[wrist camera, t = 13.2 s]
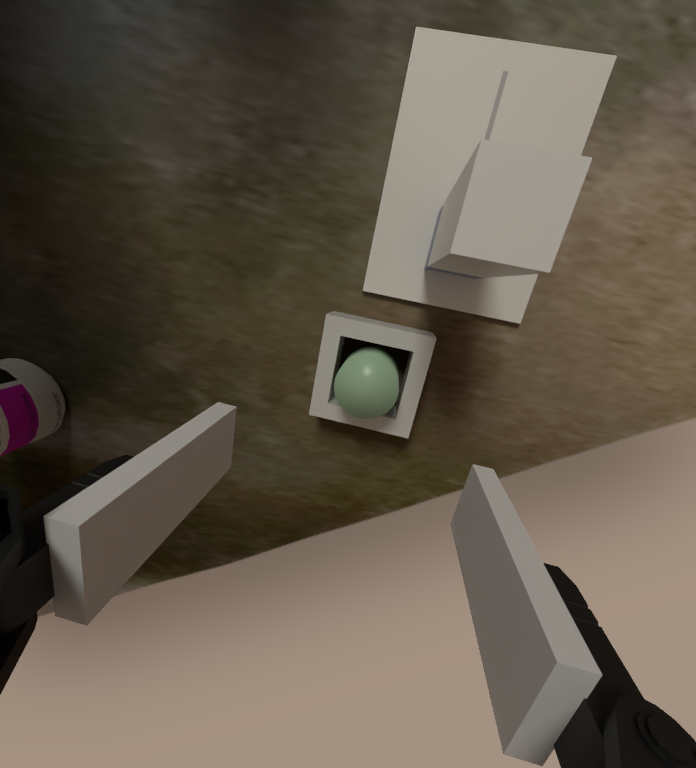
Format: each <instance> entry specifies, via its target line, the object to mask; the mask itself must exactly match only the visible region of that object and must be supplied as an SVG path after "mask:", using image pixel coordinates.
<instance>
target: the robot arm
mask: <svg viewBox="0 0 696 768" xmlns="http://www.w3.org/2000/svg"><path fill="white" fill-rule="evenodd" d="M235 418H236V406H231V405H227V404H223V403H219V402H218V403H216V404H215V405H213V406H211V407H210V408H208V409H207V410H205V411H204V412H202V413H201V414H199V415H198V416H196V417H195V418H193V419H192V420H190V421H188V422H187V423H185V424H184V425H182V426H181V427H179V428H178V429H176V430H175V431H173V432H172V433H170V434H169V435H167V436H166V437H164V438H162V439H161V440H159V441H158V442H156V443H155V444H153V445H152V446H150V447H149V448H147V449H146V450H144V451H143V452H141V453H140V454H138V455H136V456H135V457H133V456H129V455H124V456H121V457H118V458H115V459H112V460H109V461H106V462H104V463H102V464H101V465H99V466H97V467H96V468H94V469H92V470H91V471H89V472H88V474H87V475H85V474H84V475H83V476H81V477H79V478H78V479H76V480H74V481H73V483H72V484H71V483H69V484H68V485H66V486H64V487H63V488H61V489H59V490H58V491H56V492H54V493H53V494H51V495H49V496H48V497H46V498H45V499H43V500H41V501H40V502H38V503H36V504H35V505H33V506H31V507H30V508H28V509H26V510H25V511H23V512H22V509H21V502H20V496H19V493H18V491H17V489H15V488H13V487H10V486H8V485H0V694H1V692H2V690H3V689H4V687H5V685H6V683H7V681H8V679H9V677H10V675H11V673H12V671H13V669H14V667H15V666H16V663H17V662H18V659H19V658H20V656H21V654H22V652H23V650H24V648H25V646H26V645H27V643H28V641H29V639H30V637H31V635H32V633H33V631H34V629H35V626H36V622H37V611H38V610H39V609H40V608H41V607H42V606H43V605H45V604H46V603H47V602H48V601H49V600H50V599H51V598H52V597H53V600H54V608H55V616H58V617H61V618H64V619H68V620H71V621H74V622H77V623H80V624H84V625H88V623H89V622H90V621H91V620H92V619H93V618H94V617H95V616H96V615H97V614H98V613H99V611H100V610H101V609H102V608H103V607H104V606H105V605H106V604H107V603H108V601H109V600H110V599H111V598H112V597H113V596H114V595H115V594H116V593H117V592H118V591H119V589H120V588H121V587H122V586H123V585H124V584H125V583H126V582H127V581H128V580H129V578H130V577H131V576H132V575H133V574H134V573H135V572H136V571H137V570H138V569H139V568H140V566H141V565H142V564H143V563H144V562H145V561H146V560H147V559H148V558H149V557H150V555H151V554H152V553H153V552H154V551H155V550H156V549H157V548H158V547H159V546H160V544H161V543H162V542H163V541H164V540H165V539H166V538H167V537H168V536H169V535H170V533H171V532H172V531H173V530H174V529H175V528H176V527H177V526H178V525H179V524H180V523H181V521H182V520H183V519H184V518H185V517H186V516H187V515H188V514H189V513H190V512H191V510H192V509H193V508H194V507H195V506H196V505H197V504H198V503H199V502H200V501H201V499H202V498H203V497H204V496H205V495H206V494H207V493H208V492H209V491H210V490H211V488H212V487H213V486H214V485H215V484H216V483H217V482H218V481H219V480H220V479H221V478H222V476H223V475H224V474H225V473H226V472H227V471H228V470H229V469H230V468H231V460H232V450H233V439H234V429H235ZM451 527H452V532H453V536H454V540H455V545H456V549H457V553H458V558H459V562H460V566H461V571H462V575H463V579H464V584H465V588H466V593H467V597H468V601H469V606H470V610H471V615H472V619H473V623H474V628H475V632H476V636H477V640H478V645H479V649H480V654H481V658H482V662H483V667H484V671H485V676H486V680H487V684H488V689H489V693H490V698H491V702H492V706H493V711H494V715H495V719H496V724H497V728H498V733H499V737H500V741H501V745H502V750H503V754H505V755H508V756H511V757H514V758H518V759H521V760H524V761H528V762H530V763H534V764H537V765H540V766H543V764H544V763H545V761H546V760H547V758H548V757H549V755H550V754H551V752H552V751H553V749H554V748H555V751H556V754H557V757H558V760H559V763H560V766H561V768H696V742H695V740H694V739H693V738H692V737H691V736H690V735H689V734H688V733H687V732H686V731H685V730H684V729H683V728H682V727H681V726H680V725H679V724H678V723H677V722H676V721H675V720H674V719H673V718H672V717H670V716H669V715H668V714H667V713H665V712H664V711H663V710H661V709H660V708H659V707H657V706H656V705H654V704H652V703H650V702H648V701H646V700H645V699H644V698H643V696H642V695H641V693H640V692H639V690H638V688H637V686H636V685H635V683H634V682H633V680H632V678H631V676H630V675H629V673H628V671H627V670H626V668H625V666H624V665H623V663H622V661H621V660H620V658H619V657H618V655H617V653H616V651H615V650H614V648H613V646H612V645H611V643H610V641H609V640H608V638H607V636H606V635H605V633H604V631H603V630H602V628H601V627H599V626H598V621H597V620H596V618H595V617H594V615H593V613H592V611H591V610H590V609H588V605H587V603H586V601H585V600H584V598H583V596H582V595H581V593H580V591H579V590H578V588H577V586H576V585H575V584H574V583H573V582H572V581H571V580H570V579H569V578H568V577H567V576H566V574H565V573H564V572H563V571H562V570H561V569H560V568H559V567H557V566H553V565H549V564H545V563H543V562H542V560H541V558H540V556H539V554H538V553H537V550H536V549H535V547H534V545H533V543H532V541H531V539H530V537H529V536H528V533H527V532H526V530H525V528H524V526H523V524H522V522H521V520H520V518H519V517H518V515H517V513H516V511H515V509H514V507H513V505H512V503H511V501H510V500H509V498H508V496H507V494H506V492H505V490H504V488H503V486H502V485H501V483H500V481H499V479H498V477H497V475H496V473H495V471H494V469H490V468H486V467H482V466H478V465H474V464H472V467H471V470H470V472H469V475H468V478H467V481H466V483H465V486H464V489H463V492H462V495H461V498H460V500H459V503H458V506H457V508H456V511H455V514H454V517H453V519H452V522H451Z"/></svg>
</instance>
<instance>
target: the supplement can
mask: <svg viewBox="0 0 696 768" xmlns="http://www.w3.org/2000/svg"><path fill="white" fill-rule="evenodd" d="M64 413H65V399H64V396H63V394H62V391H61V389H60V387H59V385H58V384H57V383H56V381H55V380H54V379H53V377H52V376H51V375H49V374H48V373H47V372H46V371H44V370H43V369H42V368H40V367H38V366H36V365H34V364H32V363H30V362H27V361H25V360H23V359H14V358H7V359H2V360H0V456H2V455H4V454H7V453H9V452H11V451H14V450H16V449H18V448H21V447H23V446H25V445H28V444H30V443H32V442H35V441H37V440H39V439H41V438H44V437H46V436H48V435H51V434H53V433H54V432H55V431H56V430H57V429H58V428H59V427H60V426H61V423H62V420H63V417H64Z"/></svg>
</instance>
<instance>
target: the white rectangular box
mask: <svg viewBox="0 0 696 768" xmlns="http://www.w3.org/2000/svg"><path fill="white" fill-rule="evenodd" d="M591 160H592V158H591V157H585V156H579V155H574V154H568V153H562V152H556V151H550V150H544V149H538V148H532V147H526V146H521V145H515V144H509V143H503V142H497V141H491V140H485V139H481V140H480V142H479V144H478V145H477V147H476V149H475V151H474V152H473V154H472V156H471V157H470V159H469V161H468V163H467V164H466V166H465V168H464V169H463V171H462V173H461V175H460V176H459V178H458V180H457V182H456V183H455V185H454V187H453V188H452V190H451V192H450V194H449V195H448V197H447V199H446V200H445V202H444V204H443V206H442V207H441V209H440V211H439V213H438V217H437V221H436V225H435V229H434V233H433V237H432V240H431V244H430V248H429V252H428V256H427V260H426V264H425V268H424V269H429V270H434V271H439V272H444V273H449V274H454V275H459V276H464V277H469V278H474V279H481V278H494V277H506V276H518V275H530V274H542V273H550V271H551V268H552V265H553V263H554V260H555V257H556V255H557V252H558V249H559V247H560V244H561V241H562V239H563V236H564V233H565V230H566V228H567V225H568V222H569V220H570V217H571V214H572V212H573V209H574V206H575V204H576V201H577V198H578V195H579V193H580V190H581V187H582V185H583V182H584V179H585V177H586V174H587V171H588V169H589V166H590V163H591Z"/></svg>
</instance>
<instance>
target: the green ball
mask: <svg viewBox="0 0 696 768" xmlns="http://www.w3.org/2000/svg"><path fill="white" fill-rule="evenodd" d="M398 393H399V373H398V367H397V364H396V362H395V360H394V359H393V357H392V356H391V355H390V354H389V353H388V352H386V351H385V350H383V349H381V348H378V347H370V346H369V347H362V348H360V349H357V350H355V351H354V352H353V353H351V354H350V355H349V356H348V358H347V359H346V361H345V362H344V364H343V365H342V367H341V368H340V369H339V371H338V373H337V375H336V377H335V381H334V394H335V397H336V399H337V402H338V403H339V405H340V406H341V407H342V408H343V409H344V410H345V411H346V412H347V413H349V414H350V415H352V416H354V417H357V418H361V419H373V418H377V417H380V416H382V415H384V414H386V413H387V412H388V411H389V410H390V409H391V408H392V407H393V406H394V404H395V402H396V400H397V398H398Z"/></svg>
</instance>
